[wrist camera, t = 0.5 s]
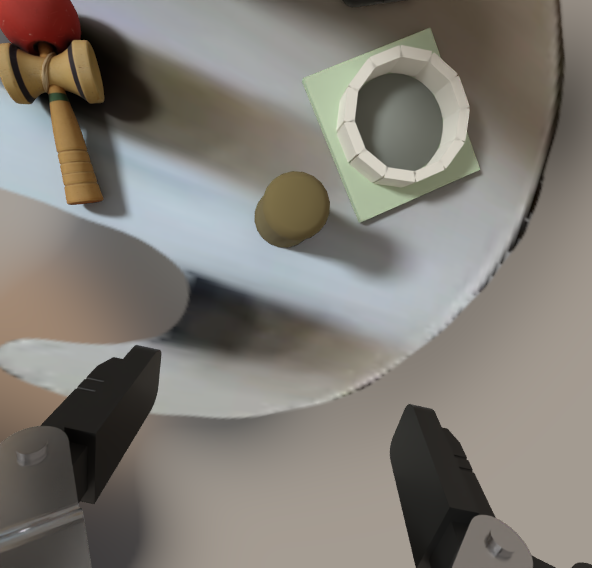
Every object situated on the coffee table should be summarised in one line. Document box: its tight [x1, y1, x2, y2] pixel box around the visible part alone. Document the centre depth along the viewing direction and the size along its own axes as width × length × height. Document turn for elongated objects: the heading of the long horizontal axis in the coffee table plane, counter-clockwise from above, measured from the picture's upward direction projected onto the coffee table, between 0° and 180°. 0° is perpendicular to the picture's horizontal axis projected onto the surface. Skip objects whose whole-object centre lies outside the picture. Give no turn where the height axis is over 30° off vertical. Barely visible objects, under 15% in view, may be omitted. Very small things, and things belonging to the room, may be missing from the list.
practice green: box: [302, 28, 480, 223], centre depth 36 cm, size 15×14×4 cm
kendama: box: [0, 0, 104, 205], centre depth 32 cm, size 8×6×18 cm
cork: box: [255, 171, 330, 248], centre depth 32 cm, size 6×6×11 cm
